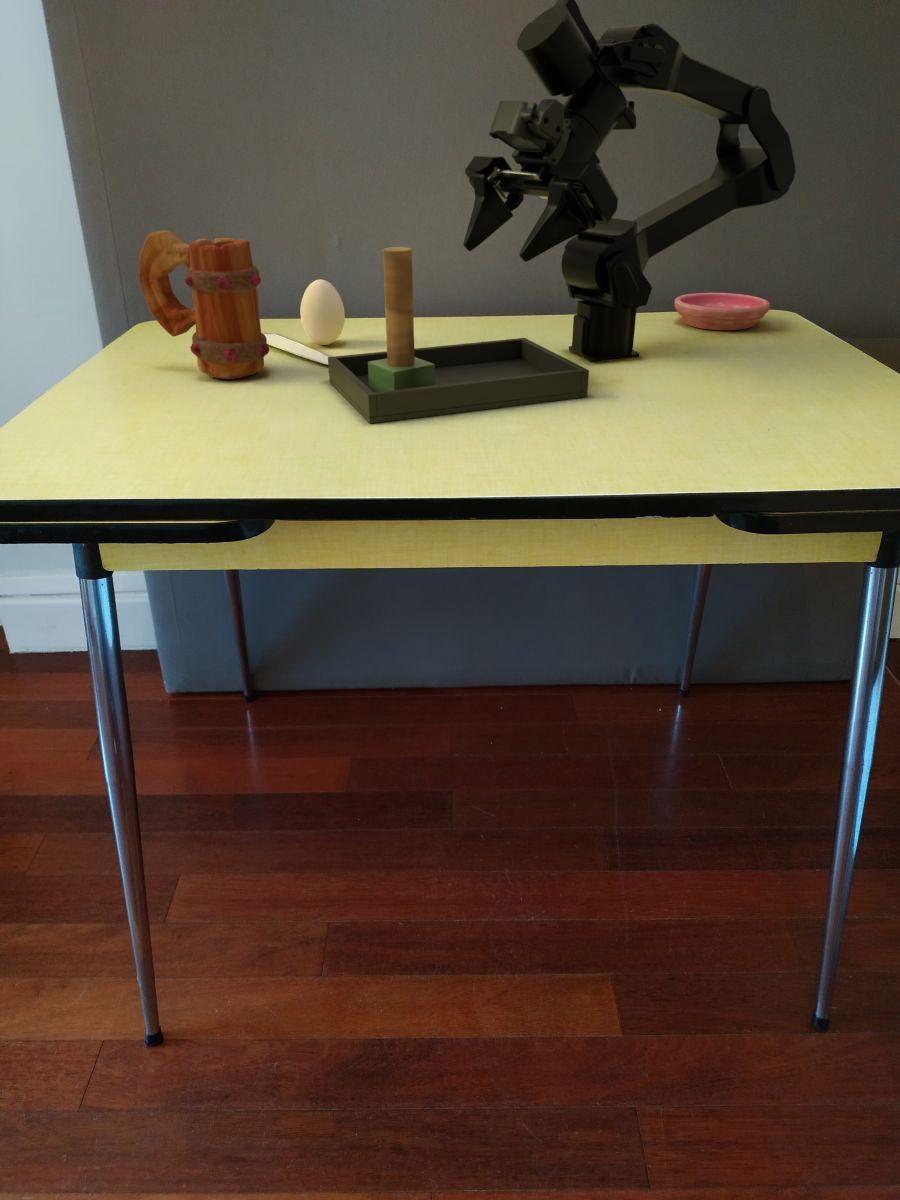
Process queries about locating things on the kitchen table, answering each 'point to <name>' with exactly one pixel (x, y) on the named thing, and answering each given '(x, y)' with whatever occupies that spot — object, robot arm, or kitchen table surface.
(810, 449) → the kitchen table surface
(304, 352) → the knife
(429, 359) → the tray
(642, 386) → the kitchen table surface
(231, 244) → the mug
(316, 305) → the egg
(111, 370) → the kitchen table surface
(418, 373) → the peg on green base
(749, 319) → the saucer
